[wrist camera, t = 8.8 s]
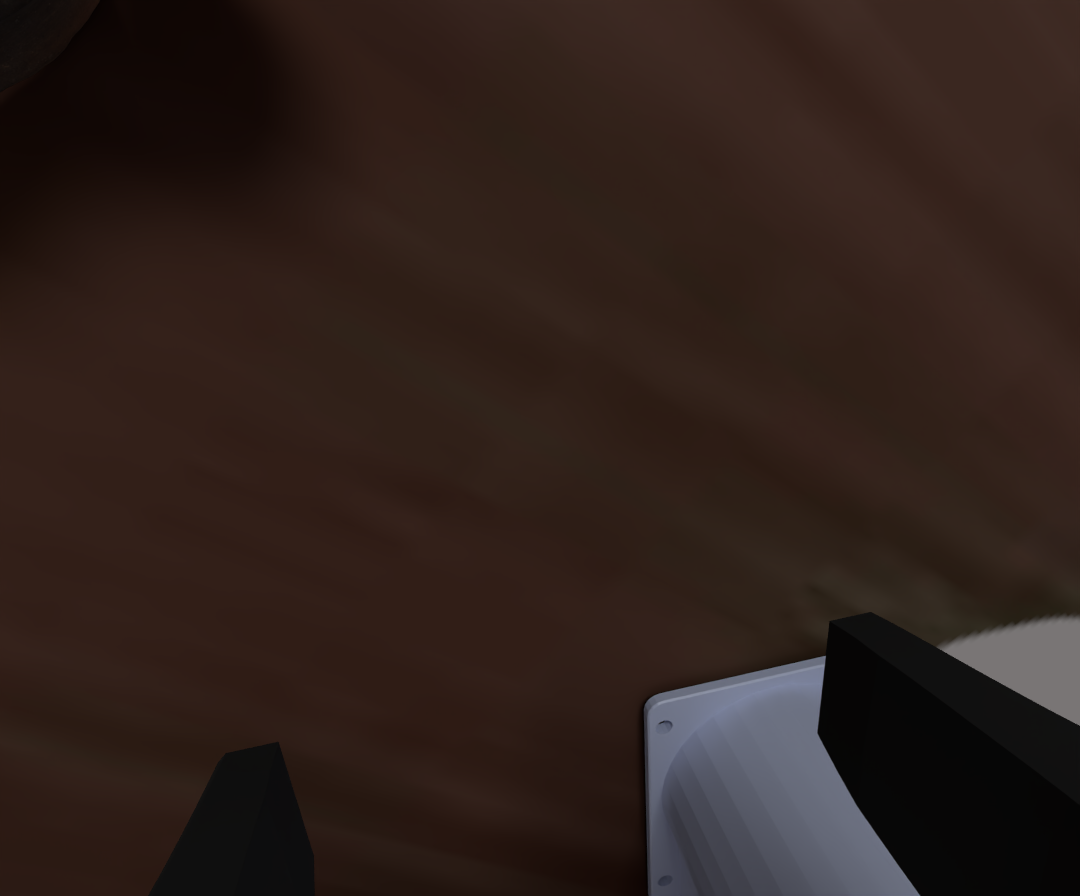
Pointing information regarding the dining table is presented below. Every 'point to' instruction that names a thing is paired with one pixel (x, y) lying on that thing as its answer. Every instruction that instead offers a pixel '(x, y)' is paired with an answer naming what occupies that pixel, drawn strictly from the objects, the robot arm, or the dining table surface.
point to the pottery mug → (37, 34)
